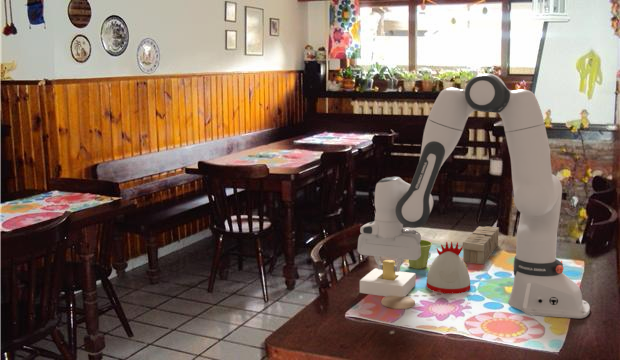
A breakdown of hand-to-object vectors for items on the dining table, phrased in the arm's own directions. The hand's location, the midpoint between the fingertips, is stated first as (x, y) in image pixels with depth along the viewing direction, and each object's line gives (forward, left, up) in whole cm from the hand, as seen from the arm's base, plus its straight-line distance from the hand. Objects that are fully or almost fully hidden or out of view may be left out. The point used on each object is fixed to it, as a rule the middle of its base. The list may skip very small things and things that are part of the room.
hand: (389, 270), depth 207 cm
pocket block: (0, 0, -6) cm, 6 cm away
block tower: (-19, -52, -7) cm, 56 cm away
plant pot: (-2, -27, -7) cm, 28 cm away
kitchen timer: (-17, -10, -7) cm, 21 cm away
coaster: (-7, +11, -6) cm, 14 cm away
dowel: (0, 0, -5) cm, 5 cm away
